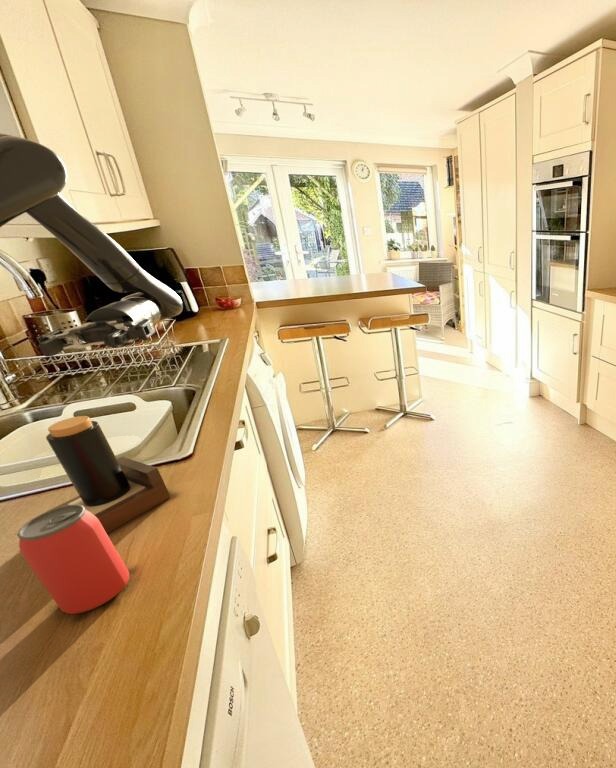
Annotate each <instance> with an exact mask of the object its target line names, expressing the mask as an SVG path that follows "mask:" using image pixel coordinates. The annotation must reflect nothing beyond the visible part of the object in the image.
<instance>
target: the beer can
mask: <svg viewBox="0 0 616 768" xmlns="http://www.w3.org/2000/svg"><path fill="white" fill-rule="evenodd" d="M52 509H53V508H52ZM49 510H50V509H49ZM47 511H48V510H47ZM47 511H44V513H41V514H39V515H37V516H35V517H34V518H31V519H30V520H29V521H27V522H26V523H25V524H23V525H22V526H21V527H20V528H19V529H18V532H17V534H16V535H17V537H18V539H19V540H18V541H19V542H18V547H19V551H20V553H21V556H22V557H23V559H24V560H25V562H26V563H27V564H28V565H29V567H30V568H31V569H32V571H33V573H34V574H35V575H36V577H37V578H38V579H39V581H40V582H41V584H42V585H43V587H44V588H45V590H46V591H47V593H48V594H49V595H50V596H51V597H52V599H53V601H54V603H56V605H57V607H58V608H59V609H60V611H61V612H63V613H67V614H70V615H73V614H75V615H76V614H83V613H85V612H86V613H87V612H89V611H92V610H94V609H96V608H99V607H101V606H102V605H105V604H106V603H108V602H109V601H111V600H112V599H114V598H115V597H116V596H117V595H119V594H120V593H121V592H122V591H123V589H124V588H125V587H126V586H127V584H128V582H129V580H130V572H129V570H128V568H127V566H126V564H125V562H124V561H123V559H122V558H121V555H120V553H119V552H118V550H117V549H116V547H115V545H114V543H113V542H112V540H111V538H110V536H109V535H108V533H106V532H105V530H104V528H103V526H102V525H101V523H100V521H99V520H98V519H97V517H96V516H94V515H93V514H92V513H91V512H89V511H87V510H85V508H84V507H83V506H82V505H67V506H63V507H59V508H56V509H53V510H50V511H48V512H47Z"/></svg>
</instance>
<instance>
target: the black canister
mask: <svg viewBox="0 0 616 768" xmlns="http://www.w3.org/2000/svg"><path fill="white" fill-rule="evenodd" d="M47 430H48V432H49V433H48V434H47V435H46V436H45V439H46V441H47V442H48V444H49V446H50V448H51V450H52V451H53V453H54V455H55V457H56V459H57V460H58V462H59V463H60V465H61V466H62V468H63V471H64V472H65V473H66V476H67V477H68V478H69V480H70V483H71V484H72V485H73V487H74V490H75V491H76V492H77V494H78V496H80V498H81V499H82V501H83V503H84V504H85V505H86V506H99V505H103V504H106V503H109V502H112V501H114V500H116V499H118V498H120V497H122V496H123V495H125V494H126V493H127V492H128V491H129V490H130V487H131V486H130V484H129V482H128V480H127V478H126V476H125V474H124V472H123V471H122V469H121V467H120V465H119V463H118V461H117V459H118V458H117V457H116V455H115V453H114V451H113V450H112V447H111V445H110V443H109V441H108V439H107V438H106V436H105V434H104V431H103V430H102V428H101V426H100V424H99V422H98V421H95V420H91V419H90V416H88V415H79V416H73V417H69V418H65V419H61V420H60V421H57V422H55V423H52V424H51V425H50V426H49V427H47Z"/></svg>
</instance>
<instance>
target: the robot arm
mask: <svg viewBox="0 0 616 768" xmlns="http://www.w3.org/2000/svg"><path fill="white" fill-rule="evenodd" d="M67 180H68V171H67V168H66V165H65V163H64V161H63V159H62V158H61V157H59V156H58V154H57V153H56V152H55V151H54V150H52V149H50V148H49V147H47V146H45V145H43V144H41V143H39V142H37V141H34V140H32V139H28V138H24V137H20V136H17V135H12V134H11V135H10V134H6V133H0V228H1V227H3V226H5V225H6V224H8V223H9V222H11V221H13V220H14V219H16V218H18V217H20V216H21V215H24V214H25V213H26V214H27V215H28V216H29V217H31V218H32V219H33V220H34V221H36V222H37V223H38V224H39V225H41V226H42V227H43V228H44V229H45V230H46V231H48V232H49V234H51V235H53V236H54V238H56V239H57V240H58V241H59V242H60V243H61V244H63V245H64V247H66V248H67V249H68V250H69V251H70V252H71V253H72V254H74V256H76V257H77V258H78V260H80V261H81V262H82V263H83V264H84V265H85V266H86V267H87V268H88V269H89V270H90V271H91V272H92V273H93V274H94V275H95V276H96V277H98V278H99V279H100V281H102V283H104V285H106V286H107V287H108V288H109V289H111V290H112V291H113V292H117V293H131V294H129V295H126V296H124V297H122V298H121V299H120V300H119V301H113V302H112V303H109V304H107V305H104V306H102V307H99V308H98V309H96V310H93V311H92V312H91V313H89V314H88V315H87V317H86V320H85V322H84V323H82V324H81V325H78V326H75V327H71V328H61V327H60V328H56V329H55V330H52V331H50V332H48V333H44V334H42V335H39V336H37V337H36V339H37V342H38V343H39V344H38V349H39V350H40V352H41V354H42V355H44V356H45V357H54V356H55V355H57V354H59V353H62V352H63V351H65V350H69V349H74V350H75V349H77V350H80V349H81V350H82V349H85V348H87V347H91V346H101V345H103V346H105V347H106V346H107V347H109V348H111V349H118V348H124V347H127V346H130V345H132V344H134V343H135V342H136V341H138V340H139V341H146V340H148V339H149V338H150V337H152V335H154V334H155V333H156V329H155V326H156V325H157V324H159V322H161V321H165V320H167V319H171V318H174V317H176V316H179V315H180V314H181V313H182V312H183V309H184V303H183V301H182V299H181V297H180V296H179V295H178V294H177V293H176V291H174V290H173V289H172V288H171V287H169V286H168V285H167V284H165V283H163V282H162V281H160V280H159V279H157V278H156V277H154V276H153V275H151V274H150V273H149V272H147V271H146V270H144V269H143V268H142V267H141V266H140V265H139V264H138V263H137V262H136V261H135V260H134V259H133V257H132V256H131V255H130V254H129V253H128V252H127V251H126V250H125V248H123V247H122V246H121V245H120V244H119V243H118V242H117V241H115V240H114V239H113V238H112V237H111V236H109V235H108V233H106V232H105V231H103V230H102V229H101V228H99V227H98V226H97V225H96V224H94V223H93V222H92V221H90V219H88V218H87V217H86V216H84V215H83V214H82V213H81V212H79V211H78V210H77V209H76V208H75V207H74V206H73V205H72V204H71V203H70V202H68V200H67V199H66V198H65V197H64V196H63V195H62V194H61V192H62V191H63V190H64V188H65V187H66V185H67ZM80 341H82V342H83V343H80Z"/></svg>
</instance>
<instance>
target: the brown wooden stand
mask: <svg viewBox="0 0 616 768" xmlns="http://www.w3.org/2000/svg"><path fill="white" fill-rule="evenodd" d="M116 459H117V461H118V463H119V465H120V467H121V469H122V471H123V472H124V474H125V476H126V478H127V480H128V482H129V484H130V486H131V487H130V490H129V491H128V492H127V493H126V494H125V495H123V496H122V497H120V498H118V499H116V500H114V501H112V502H109V503H106V504H103V505H99V506H86V505H85V504H84V503H83V501H82V499H81V498H80V496H79V495H77V496H75V497H73V498H71V499H69V500H67V501H65V502H63V503H61V504H59V505H57V506H55V507H53V508H51V509H48V510H47V511H46V512H48V511H50V510H53V509H56V508H59V507H63V506H67V505H82V506H83V507H84V508H85V510H87V511H89V512H91V513H92V514H93V515H94V516H96V517H97V519H98V520H99V521H100V523H101V525H102V526H103V528H104V530H105V532H106V533H107V534H109V533H110V532H112V531H114V530H116V529H118V528H119V527H122V526H123V525H124V524H126V523H128V522H130V521H132V520H133V519H135V518H137V517H138V516H139V517H140V516H141V515H142V514H144V513H146V512H147V511H149V510H151V509H153V508H154V507H156V506H158V505H160V504H161V503H163V502H166V501H168V499H170V498H171V494H170V492H169V490H168V488H167V486H166V483H165V481H164V478H163V477H162V475H161V472H160V471H159V468H158V467H156V466H153V465H149V464H146V463H144V462H140V461H137V460H135V459H131V458H129V457H125V456H121V457H119V458H116Z"/></svg>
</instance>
